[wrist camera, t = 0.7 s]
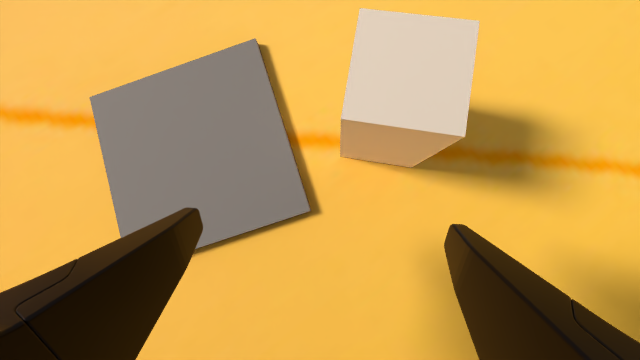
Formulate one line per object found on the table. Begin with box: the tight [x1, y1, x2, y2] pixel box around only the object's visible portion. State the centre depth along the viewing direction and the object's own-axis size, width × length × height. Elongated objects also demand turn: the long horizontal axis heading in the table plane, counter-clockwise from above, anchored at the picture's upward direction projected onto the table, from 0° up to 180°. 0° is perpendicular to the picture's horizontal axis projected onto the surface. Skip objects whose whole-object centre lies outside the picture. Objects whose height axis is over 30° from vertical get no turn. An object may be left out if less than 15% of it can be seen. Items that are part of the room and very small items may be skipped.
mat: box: [90, 39, 311, 249], centre depth 23 cm, size 16×16×1 cm
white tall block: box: [340, 8, 479, 168], centre depth 18 cm, size 6×6×10 cm
